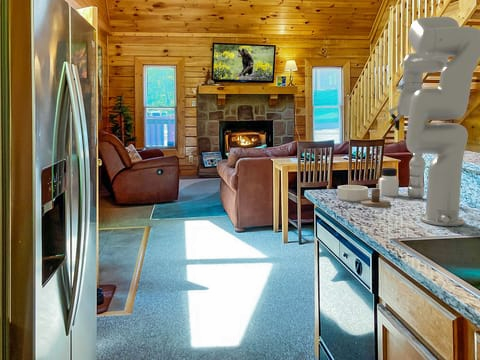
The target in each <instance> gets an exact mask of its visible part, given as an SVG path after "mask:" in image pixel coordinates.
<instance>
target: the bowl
mask: <svg viewBox="0 0 480 360" xmlns="http://www.w3.org/2000/svg"><path fill="white" fill-rule="evenodd" d="M364 199H369V188H368V186H365V185H359V184H344V185H337V200H341V201H346V202H361V200H364Z"/></svg>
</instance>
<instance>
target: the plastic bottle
mask: <svg viewBox="0 0 480 360" xmlns="http://www.w3.org/2000/svg"><path fill="white" fill-rule="evenodd" d="M423 155H424V154H421V153H412V157H411V159H410V160H409V163H408V165H409V166H408V167H409V181H408V188H407V191H406V192H407V196H408V197H409V198H412V199H422V198H423V197H424V195H425V188H424V178H425V177H424V176H425V171H426V166H427V164H426V163H427V162H426V161H425V159H424V158H423Z"/></svg>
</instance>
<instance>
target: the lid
mask: <svg viewBox="0 0 480 360" xmlns="http://www.w3.org/2000/svg"><path fill="white" fill-rule="evenodd" d="M380 197H381V195H380V189H379V188H377V187H375V188H371V198H368V199H364V200H361V201H360V205H361V206H363V205H364V206H369V207H368V208H389V207H388V206H390V207H391V201H389V200H386V199H380Z"/></svg>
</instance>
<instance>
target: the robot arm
mask: <svg viewBox="0 0 480 360" xmlns="http://www.w3.org/2000/svg"><path fill="white" fill-rule="evenodd" d="M408 41H409V44H410V46H411V47H412V49H413V51H415V52H411V53H408V54H407V55H406V56H405V57H404V59H403V62H402V66H403V67H402V83H401V84H400V85H398V89H400V90H401V91H400V92H399V97H398V101H397V102H398V103H397V106H394V107H393V108H390V109H389V110H388V113H389V115H390V117H391V119H393V120H394V129H395V130H396V131H400V119H401V117H402V116H403V117H408V119H407V128H406V129H407V130H406V140H405V144H406V149H407V150H408V151H409V152H410V153H412V154H413V153H421V154H423V155H424V154H428V155H429V154H433V155H434V154H436V156H435V157H434V158H433V159H432V160H431V162H430V163H429V166H428V170H427V183H426V185H427V186H426V202H425V203H426V204H425V205H426V206H425V214H421V215H420V218H419V219H420V221H421V222H423V223H425V224H429V225H435V226H441V227H457V226H462V225H463V224H464V223H465V220H464V219H463V218H462V217H460V216H459V214H460V201H461V186H462V175H463V172H462V171H463V161H464V157H465V156H464V155H465V150H466V147H467V143H468V138H469V133H468V130H467V128H466V127H465V126H463V125H461V124H460V123H454V122H433V123H430V122H429V123H428V121H429V120H430V121H436V120H437V121H440V120H442V121H443V120H457V119H461V118H463V117H464V116H465V114H466V113H467V110H468V109H467V108H468V105H469V99H470V93H471V86H472V80H473V76H474V72H475V69H476V67H477V64H478V63H479V60H480V29H479V28H477V27H474V26H460V25H459V23H458V21H457V20H456V19H455V18H453V17H450V16H431V17H429V16H427V17H419V18H417V19H415V20H414V21H413V22H412V23H411V25H410V27H409V29H408ZM450 57H453V58H451V59H450V60H449V58H450ZM440 71H441V72H440ZM438 72H440V76H439V77H440V78H439V83H438V86H437V87H433V88H432V87H431V88H428V87H427V88H423V78H424V74H427V73H428V74H429V73H430V74H433V73H434V74H435V73H438ZM394 111H397V115H395V113H394Z"/></svg>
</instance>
